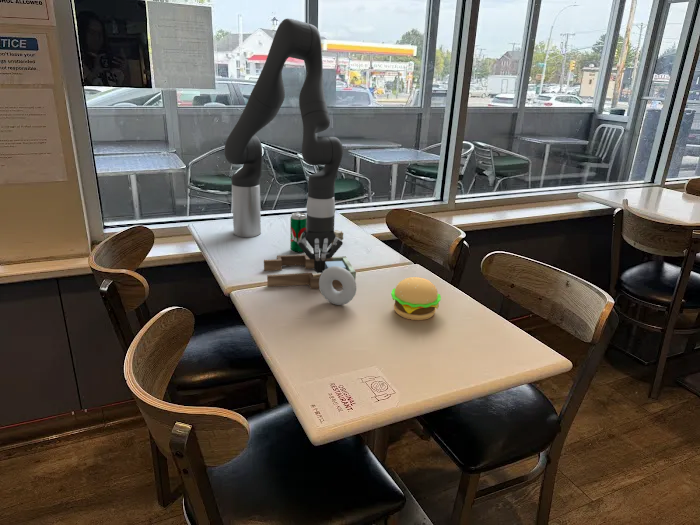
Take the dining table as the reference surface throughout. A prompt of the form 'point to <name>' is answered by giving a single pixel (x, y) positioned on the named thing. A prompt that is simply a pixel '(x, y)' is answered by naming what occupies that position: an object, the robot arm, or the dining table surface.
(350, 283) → the donut
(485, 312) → the dining table surface
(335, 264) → the block
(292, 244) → the soda can
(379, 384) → the dining table surface
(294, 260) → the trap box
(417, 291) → the toy cheeseburger
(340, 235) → the bone
